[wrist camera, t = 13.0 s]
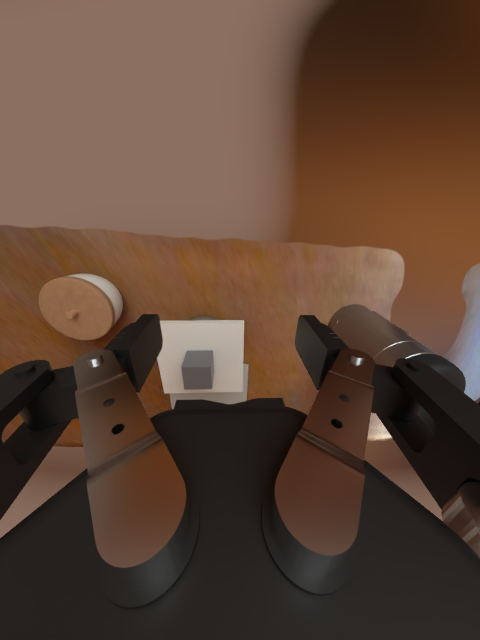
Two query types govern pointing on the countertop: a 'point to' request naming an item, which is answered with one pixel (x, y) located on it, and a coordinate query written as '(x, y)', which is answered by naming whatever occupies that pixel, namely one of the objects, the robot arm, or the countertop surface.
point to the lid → (202, 356)
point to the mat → (216, 394)
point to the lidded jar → (81, 305)
